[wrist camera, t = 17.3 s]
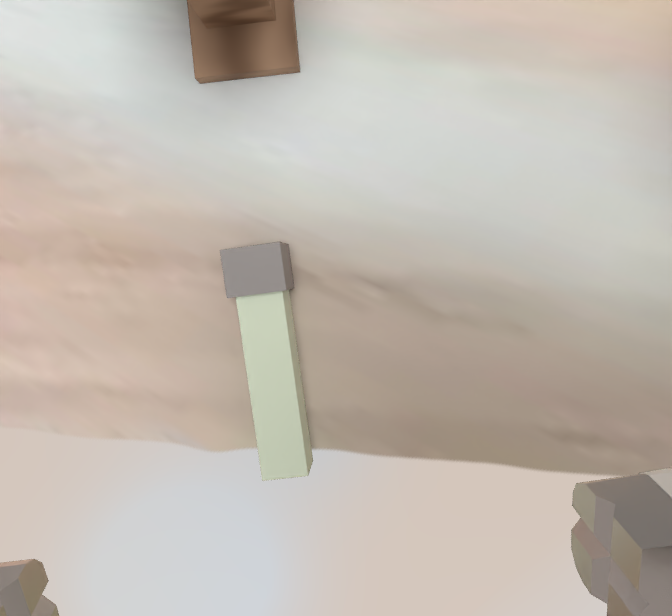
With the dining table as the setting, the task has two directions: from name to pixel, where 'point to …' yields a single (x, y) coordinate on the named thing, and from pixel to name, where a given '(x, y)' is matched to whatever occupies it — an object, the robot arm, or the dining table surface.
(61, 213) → the dining table surface
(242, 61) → the walnut stand
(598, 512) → the robot arm
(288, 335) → the sage block
